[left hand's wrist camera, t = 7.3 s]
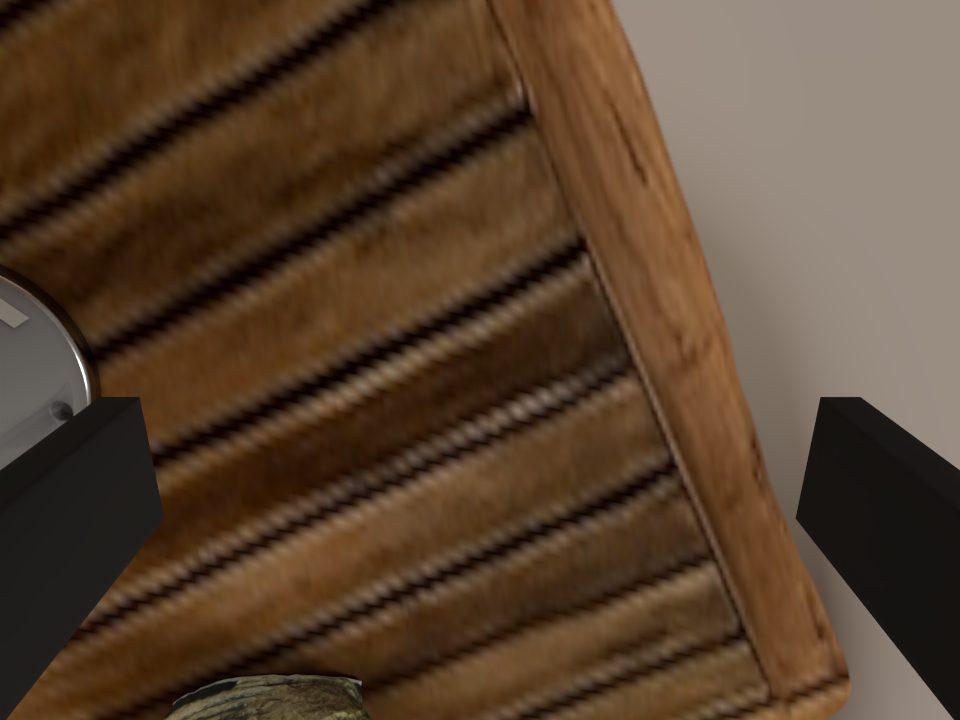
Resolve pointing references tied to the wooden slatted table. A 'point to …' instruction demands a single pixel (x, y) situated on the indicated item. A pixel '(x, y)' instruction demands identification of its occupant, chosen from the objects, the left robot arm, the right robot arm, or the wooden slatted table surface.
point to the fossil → (273, 699)
